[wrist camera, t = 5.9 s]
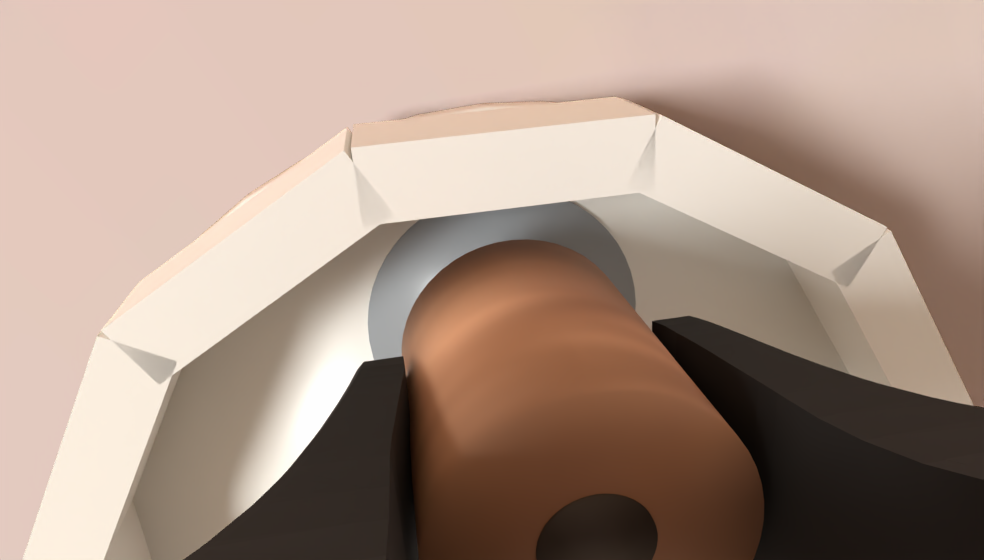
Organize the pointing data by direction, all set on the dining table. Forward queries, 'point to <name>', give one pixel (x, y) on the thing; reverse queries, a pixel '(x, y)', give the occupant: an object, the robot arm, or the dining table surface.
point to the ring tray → (413, 264)
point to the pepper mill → (562, 422)
